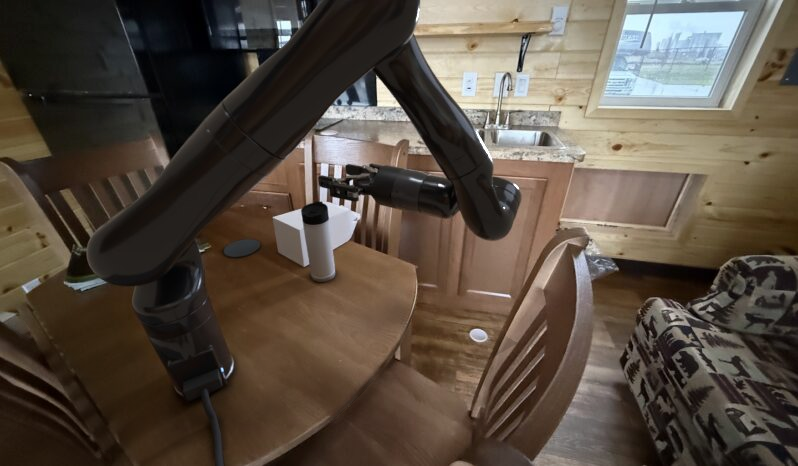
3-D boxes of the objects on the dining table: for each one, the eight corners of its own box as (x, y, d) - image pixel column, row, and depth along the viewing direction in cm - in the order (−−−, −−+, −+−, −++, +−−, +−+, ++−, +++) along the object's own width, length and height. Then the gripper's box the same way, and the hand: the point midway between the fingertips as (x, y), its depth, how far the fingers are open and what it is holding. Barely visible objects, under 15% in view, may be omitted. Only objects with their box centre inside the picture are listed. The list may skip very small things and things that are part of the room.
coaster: (263, 251, 93) (262, 250, 93) (225, 261, 89) (225, 260, 88) (257, 237, 101) (256, 236, 100) (222, 245, 96) (222, 244, 96)
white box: (304, 267, 87) (367, 233, 105) (299, 230, 81) (367, 202, 100) (278, 252, 93) (342, 223, 112) (272, 217, 88) (340, 193, 106)
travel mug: (338, 268, 86) (331, 201, 76) (331, 283, 80) (322, 213, 71) (316, 266, 87) (307, 200, 77) (307, 281, 81) (295, 211, 71)
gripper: (421, 159, 61) (353, 148, 67) (383, 181, 50) (306, 165, 57) (419, 195, 64) (355, 181, 71) (383, 223, 54) (311, 203, 60)
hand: (333, 174), depth 64 cm, fingers open, 8 cm apart
